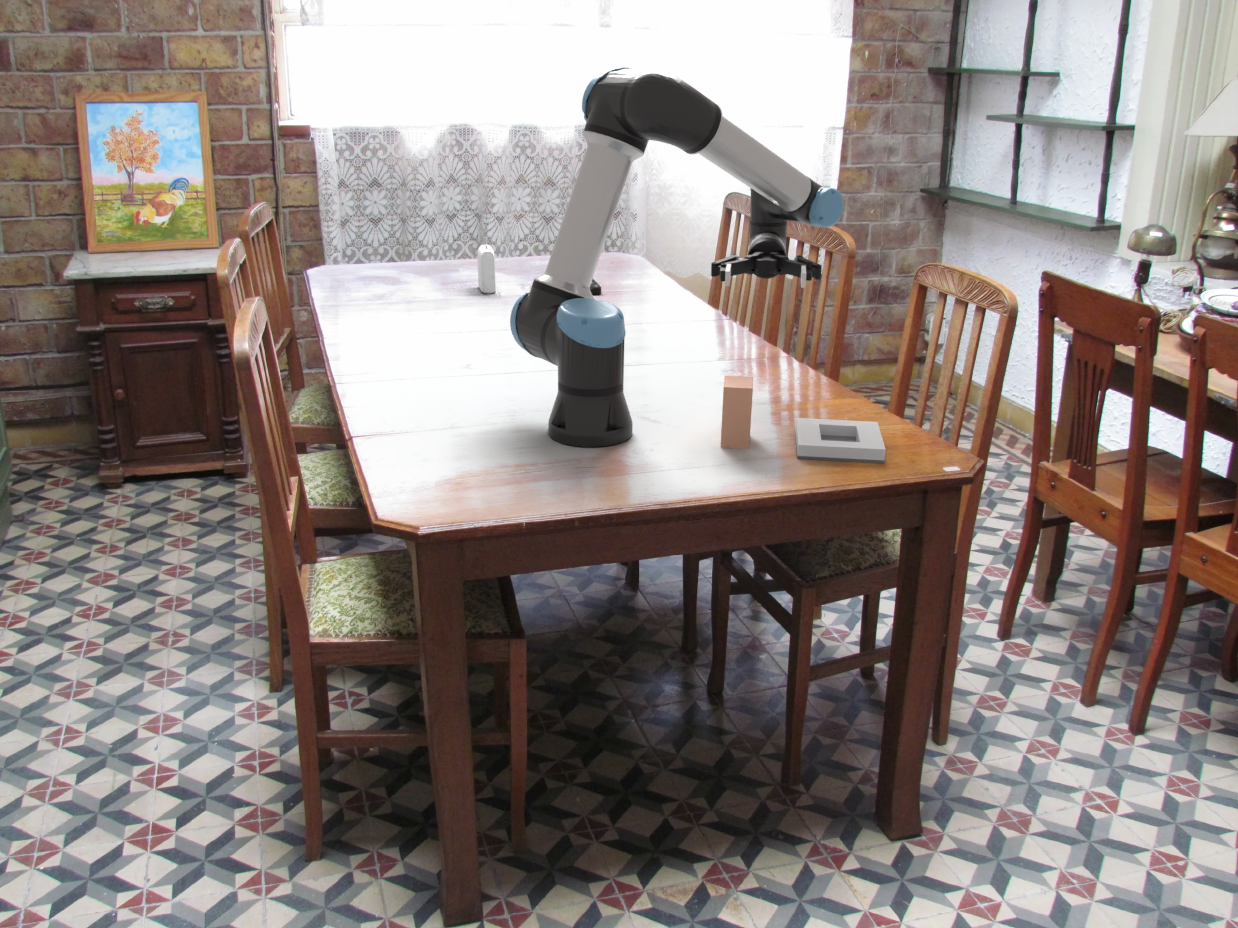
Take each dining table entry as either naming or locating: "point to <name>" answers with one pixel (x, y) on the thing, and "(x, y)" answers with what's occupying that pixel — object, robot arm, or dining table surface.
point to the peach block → (736, 412)
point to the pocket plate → (839, 440)
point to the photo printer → (486, 269)
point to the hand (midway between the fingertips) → (765, 279)
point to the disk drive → (595, 288)
